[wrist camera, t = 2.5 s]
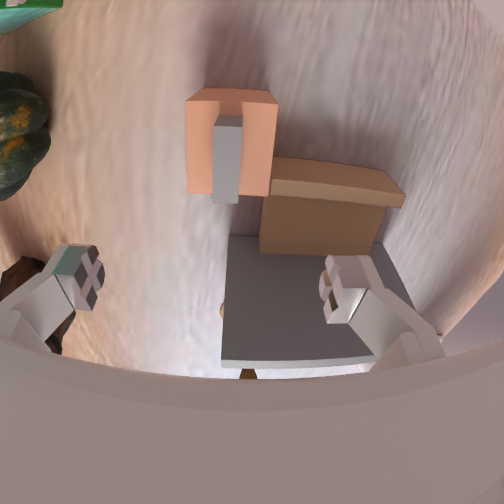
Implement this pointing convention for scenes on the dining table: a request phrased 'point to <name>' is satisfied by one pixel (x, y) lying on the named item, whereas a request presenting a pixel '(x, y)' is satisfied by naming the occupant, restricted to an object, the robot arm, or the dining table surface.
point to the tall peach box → (230, 142)
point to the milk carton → (23, 12)
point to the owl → (18, 277)
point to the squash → (20, 131)
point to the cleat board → (304, 265)
